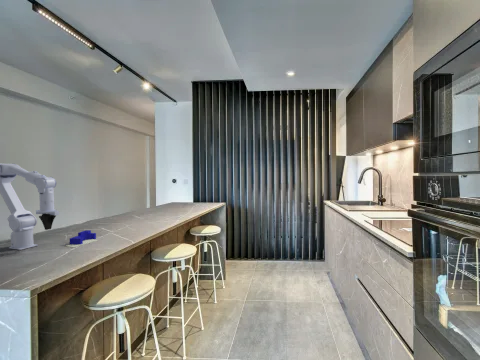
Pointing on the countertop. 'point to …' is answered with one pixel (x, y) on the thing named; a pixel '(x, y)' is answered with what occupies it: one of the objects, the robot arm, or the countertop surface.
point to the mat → (82, 244)
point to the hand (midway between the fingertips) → (48, 229)
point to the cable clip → (82, 237)
